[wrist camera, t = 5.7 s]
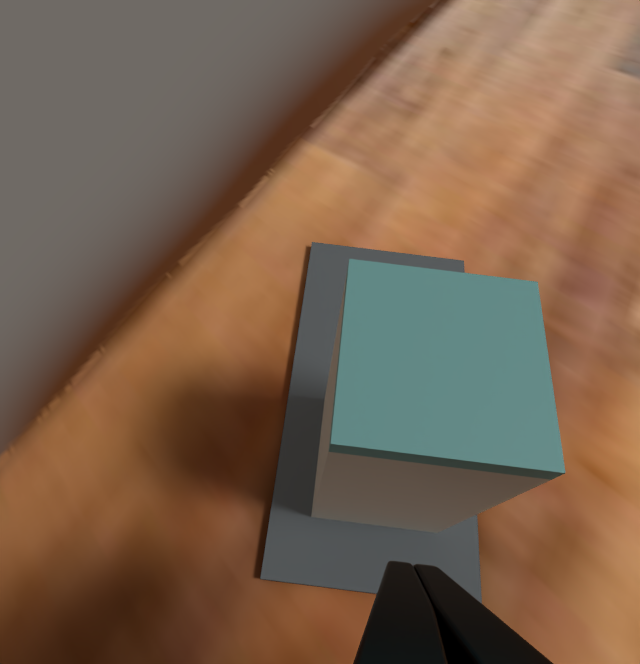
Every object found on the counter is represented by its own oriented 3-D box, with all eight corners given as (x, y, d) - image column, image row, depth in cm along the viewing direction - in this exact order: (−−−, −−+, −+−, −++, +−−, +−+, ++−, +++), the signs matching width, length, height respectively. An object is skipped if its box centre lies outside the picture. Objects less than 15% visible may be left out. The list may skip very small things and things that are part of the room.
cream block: (437, 533, 15) (565, 473, 8) (311, 516, 15) (330, 443, 8) (435, 412, 17) (537, 281, 10) (324, 399, 17) (349, 259, 10)
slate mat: (478, 606, 14) (482, 606, 14) (260, 578, 14) (260, 578, 14) (461, 265, 21) (463, 260, 20) (311, 246, 21) (311, 241, 21)
